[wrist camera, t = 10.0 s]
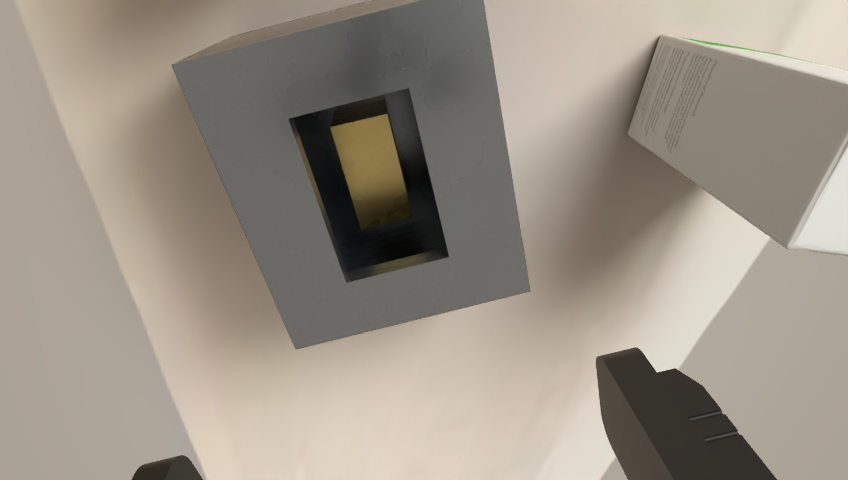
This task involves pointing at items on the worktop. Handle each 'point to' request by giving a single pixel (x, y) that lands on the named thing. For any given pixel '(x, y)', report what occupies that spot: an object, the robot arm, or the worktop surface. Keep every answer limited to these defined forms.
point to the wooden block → (371, 164)
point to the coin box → (323, 174)
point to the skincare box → (753, 136)
